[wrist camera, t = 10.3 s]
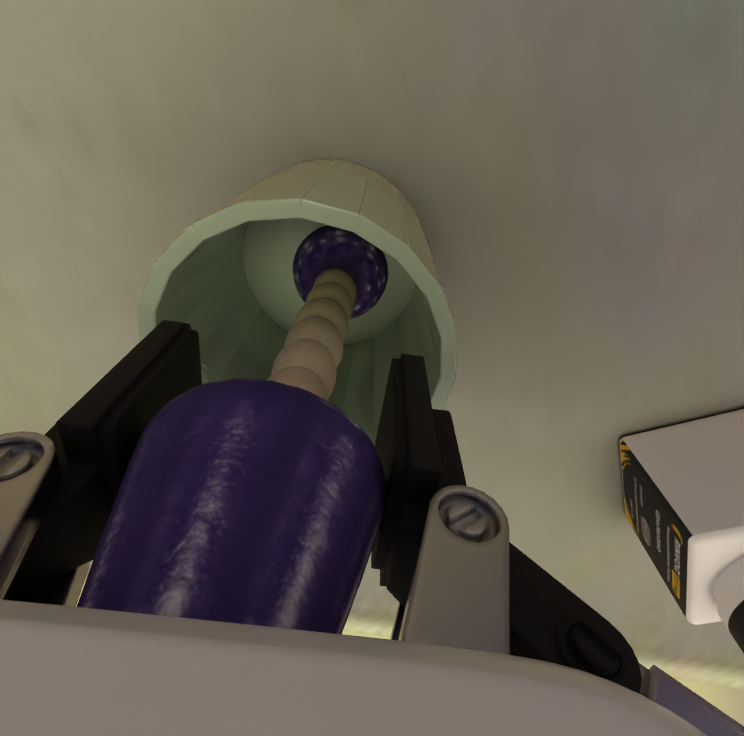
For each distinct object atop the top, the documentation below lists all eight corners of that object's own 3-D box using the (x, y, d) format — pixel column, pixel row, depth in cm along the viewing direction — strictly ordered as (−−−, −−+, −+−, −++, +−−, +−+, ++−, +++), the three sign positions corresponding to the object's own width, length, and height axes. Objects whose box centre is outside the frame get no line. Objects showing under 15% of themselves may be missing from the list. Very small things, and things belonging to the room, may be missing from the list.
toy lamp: (291, 320, 21) (87, 802, 6) (269, 220, 18) (-144, 630, 4) (391, 310, 20) (415, 798, 6) (382, 207, 18) (382, 607, 4)
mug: (387, 122, 17) (392, 134, 9) (450, 313, 21) (490, 435, 13) (136, 235, 19) (-32, 322, 11) (236, 386, 23) (163, 526, 16)
